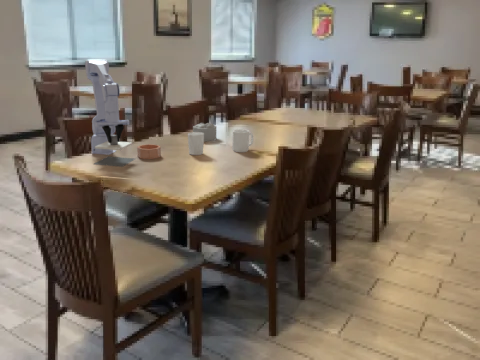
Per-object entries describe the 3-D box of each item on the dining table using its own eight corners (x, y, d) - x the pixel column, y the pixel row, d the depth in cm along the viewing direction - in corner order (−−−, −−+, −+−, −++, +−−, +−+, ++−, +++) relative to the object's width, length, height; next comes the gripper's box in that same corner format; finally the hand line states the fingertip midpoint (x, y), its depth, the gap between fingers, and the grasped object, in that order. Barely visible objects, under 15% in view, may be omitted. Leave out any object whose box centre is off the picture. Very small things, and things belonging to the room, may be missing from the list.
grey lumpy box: (190, 138, 255) (190, 123, 252) (210, 136, 262) (210, 121, 260) (201, 142, 247) (201, 126, 244) (220, 139, 254) (220, 124, 252)
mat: (93, 165, 199) (92, 164, 199) (108, 157, 212) (108, 156, 212) (122, 167, 196) (122, 166, 196) (136, 159, 209) (136, 158, 209)
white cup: (201, 156, 218) (201, 135, 215) (185, 154, 220) (185, 134, 217) (205, 152, 226) (205, 132, 223) (190, 151, 227) (190, 131, 224)
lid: (95, 148, 197) (94, 137, 196) (108, 142, 209) (107, 132, 207) (120, 150, 195) (120, 139, 194) (132, 144, 206) (132, 133, 205)
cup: (229, 149, 232) (229, 130, 229) (248, 147, 238) (248, 128, 235) (238, 153, 225) (238, 133, 222) (257, 150, 232) (258, 130, 229)
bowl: (135, 158, 210) (134, 148, 209) (143, 153, 220) (143, 143, 218) (155, 160, 209) (154, 150, 207) (163, 155, 218) (162, 145, 216)
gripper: (98, 114, 190) (100, 145, 194) (131, 111, 198) (132, 142, 202) (93, 111, 196) (95, 142, 200) (125, 109, 203) (127, 139, 207)
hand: (113, 142), depth 201 cm, fingers closed on lid, 3 cm apart
